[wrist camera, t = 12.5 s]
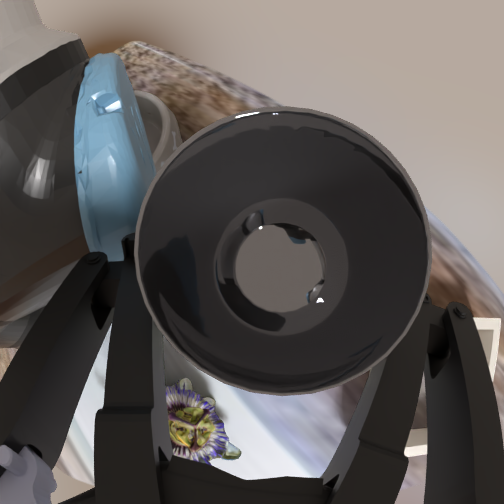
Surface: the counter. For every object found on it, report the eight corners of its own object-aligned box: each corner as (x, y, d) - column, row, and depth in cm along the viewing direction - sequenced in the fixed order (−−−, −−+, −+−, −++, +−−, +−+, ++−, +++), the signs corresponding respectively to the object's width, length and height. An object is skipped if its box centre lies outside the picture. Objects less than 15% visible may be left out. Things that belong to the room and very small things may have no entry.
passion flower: (214, 390, 32) (271, 446, 22) (160, 449, 28) (197, 517, 18) (143, 336, 28) (176, 392, 17) (83, 404, 24) (92, 481, 14)
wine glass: (337, 253, 22) (429, 140, 8) (317, 356, 20) (406, 412, 6) (236, 232, 23) (186, 95, 8) (212, 334, 21) (102, 346, 7)
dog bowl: (168, 90, 36) (158, 65, 31) (203, 195, 32) (193, 172, 27) (67, 140, 35) (48, 121, 30) (77, 250, 31) (51, 239, 26)
